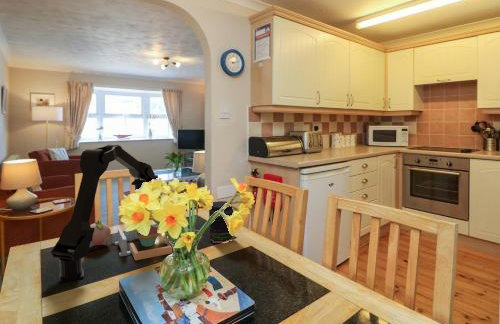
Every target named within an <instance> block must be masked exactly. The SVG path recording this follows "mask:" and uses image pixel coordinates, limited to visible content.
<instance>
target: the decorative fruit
mask: <svg viewBox="0 0 500 324" xmlns="http://www.w3.org/2000/svg"><path fill="white" fill-rule="evenodd" d="M90 226H91V227H92V228H94V233H93V241H91V243H90V244H93V245H96V246H101V245H103V244H105V243H106V242H107V241H108V240H109V238H110V236H111V233H112V232H111V228H110V226H109V225H107V224H106V223H104V222H103V221H101V220H95V222H94V223H92V224H90Z"/></svg>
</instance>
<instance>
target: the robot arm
mask: <svg viewBox="0 0 500 324" xmlns="http://www.w3.org/2000/svg"><path fill="white" fill-rule="evenodd" d="M113 161H116V162H118V163H119V164H121V166H123V167H124V168H126V169H127V170H128V173H129V174H130V175H131V176H132V177H133V178H134V180H133V181H131V186H134V191H135V190H136V189H139V188H140V187H141V185H142V183H143V182H149V181H151V180H152V179H156V178H159V175H158V174H155V172H154V171H153V168H152V166H151V164H149V163H146V162H143V161H140V160H138V159H136V158H135V156H133V155H131V154H130V153H128V152H127V151H126V150H125V149H123V147H122V145H119V144H107V145H104V146H100V147H97V148H96V147H95V148H93V149H92V148H88V149H85V150H84V151H83V150H82V153H81V154H80V162H79V167H80V170H81V173H82V176H81V180H80V184H79V188H78V192H77V195H76V200H75V204H74V207H73V211H72V216H71V219H70V220H69V222H67V223H66V225H64V227H63V229H62V231H61V233H60V236H59V239H58V241H57V242H56V243H55V245H54V246H53V248H52V249H51V250H50V254H51V257H52V258H53V259H55V258H56V259H59V273H58V283H65V282H69V281H73V280H79V279H82V278H84V277H85V274H84V273H85V272H84V267H83V265H82V264H83V263H82V262H83V261H82V259H83V258H85V257H87V256H88V254H89V251H90V250H89V249H90V246H91V244H92V243H91V241H93V233H94V228H92V227H91V226H90V225H91V223H90V218H91V215H92V211H93V206H94V203H95V202H94V201H95V198H96V194H97V189H98V185H99V181H100V178H101V177H102V175H103V174H104V173H105V172H106V171H107V169H108V167H109V164H110V163H111V162H113Z"/></svg>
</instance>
